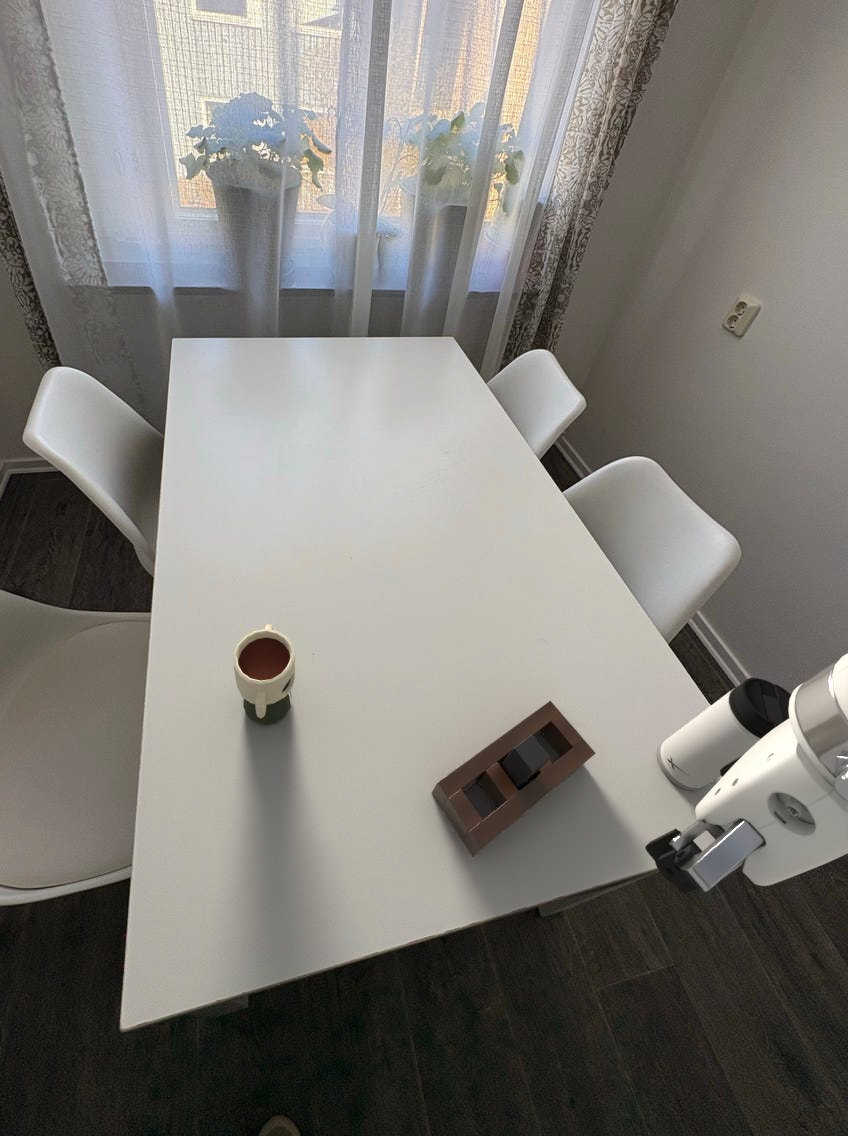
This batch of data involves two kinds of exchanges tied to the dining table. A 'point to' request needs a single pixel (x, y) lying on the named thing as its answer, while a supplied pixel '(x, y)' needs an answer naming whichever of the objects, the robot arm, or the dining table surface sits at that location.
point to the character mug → (265, 674)
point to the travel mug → (723, 733)
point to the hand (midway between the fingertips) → (703, 825)
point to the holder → (501, 786)
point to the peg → (524, 761)
